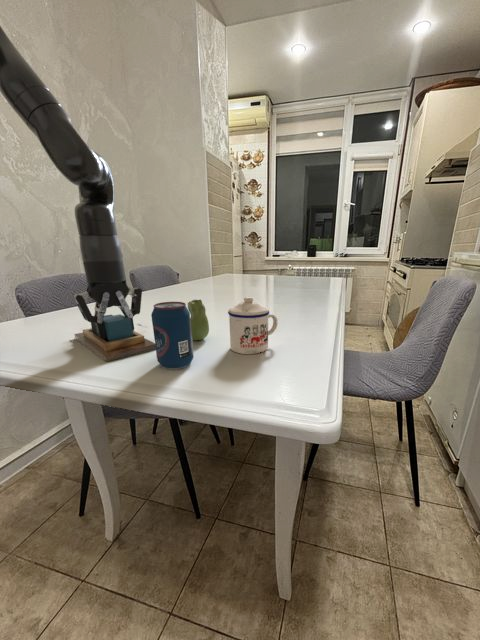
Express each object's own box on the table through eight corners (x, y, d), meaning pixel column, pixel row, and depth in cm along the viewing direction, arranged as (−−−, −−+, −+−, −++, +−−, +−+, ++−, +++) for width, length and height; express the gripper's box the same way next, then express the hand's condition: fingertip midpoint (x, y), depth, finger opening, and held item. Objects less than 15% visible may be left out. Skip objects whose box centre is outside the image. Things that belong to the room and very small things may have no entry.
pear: (212, 340, 72) (210, 300, 68) (191, 344, 69) (187, 302, 66) (205, 335, 76) (202, 296, 73) (185, 338, 74) (181, 298, 70)
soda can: (151, 364, 58) (143, 304, 54) (182, 354, 63) (176, 299, 58) (169, 374, 53) (161, 310, 49) (200, 363, 58) (196, 304, 54)
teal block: (111, 342, 63) (107, 322, 62) (101, 336, 67) (97, 317, 66) (133, 337, 67) (130, 318, 65) (123, 332, 71) (120, 314, 69)
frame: (106, 362, 59) (103, 349, 58) (75, 338, 73) (72, 328, 72) (157, 348, 66) (155, 337, 65) (119, 329, 81) (118, 320, 80)
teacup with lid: (240, 358, 61) (238, 303, 57) (223, 345, 68) (220, 296, 64) (287, 348, 67) (288, 297, 62) (266, 337, 74) (267, 291, 70)
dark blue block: (101, 341, 68) (97, 322, 66) (93, 335, 72) (89, 317, 70) (123, 336, 71) (120, 318, 69) (114, 331, 75) (111, 314, 73)
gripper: (129, 257, 68) (140, 326, 74) (58, 259, 59) (77, 339, 65) (144, 258, 63) (154, 332, 69) (68, 260, 54) (88, 347, 60)
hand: (117, 335), depth 67 cm, fingers closed on teal block, 5 cm apart
